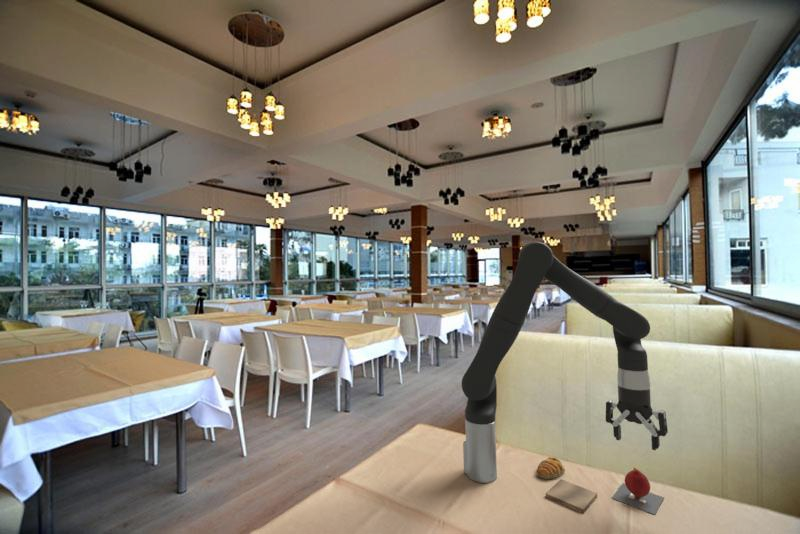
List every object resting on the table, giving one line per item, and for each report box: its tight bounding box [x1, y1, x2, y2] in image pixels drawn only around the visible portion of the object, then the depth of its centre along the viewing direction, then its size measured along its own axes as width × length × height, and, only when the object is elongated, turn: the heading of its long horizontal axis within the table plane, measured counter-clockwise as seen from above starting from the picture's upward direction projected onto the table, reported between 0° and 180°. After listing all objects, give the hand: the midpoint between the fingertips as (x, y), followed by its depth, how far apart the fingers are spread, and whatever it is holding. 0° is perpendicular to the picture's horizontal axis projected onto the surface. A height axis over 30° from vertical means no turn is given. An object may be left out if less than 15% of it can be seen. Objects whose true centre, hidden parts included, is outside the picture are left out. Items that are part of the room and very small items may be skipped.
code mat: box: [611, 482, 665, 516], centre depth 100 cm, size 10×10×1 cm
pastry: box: [536, 456, 566, 480], centre depth 114 cm, size 9×7×4 cm
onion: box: [624, 466, 651, 498], centre depth 100 cm, size 6×6×8 cm
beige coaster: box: [545, 479, 598, 514], centre depth 101 cm, size 10×10×1 cm
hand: (636, 444), depth 100 cm, fingers open, 8 cm apart
